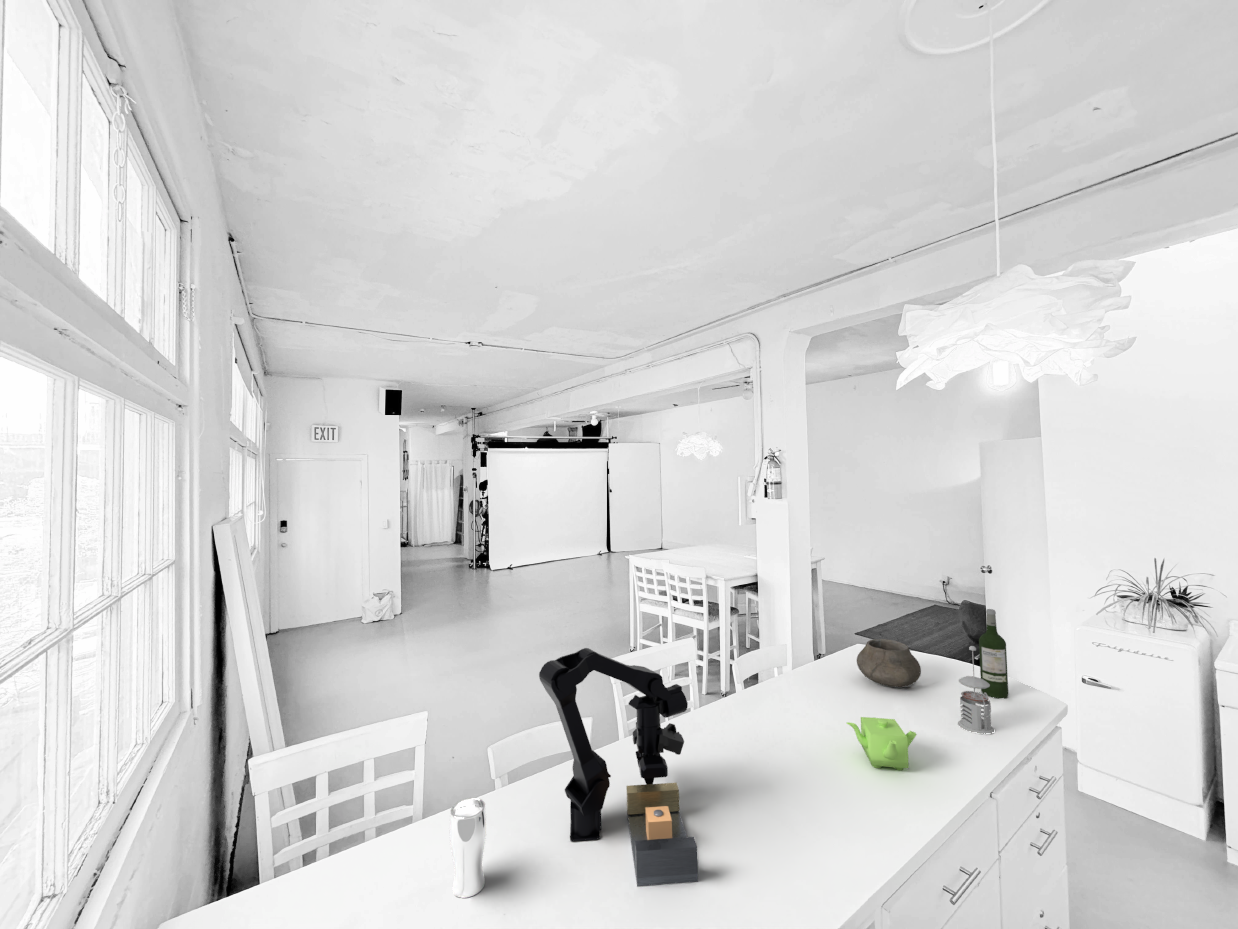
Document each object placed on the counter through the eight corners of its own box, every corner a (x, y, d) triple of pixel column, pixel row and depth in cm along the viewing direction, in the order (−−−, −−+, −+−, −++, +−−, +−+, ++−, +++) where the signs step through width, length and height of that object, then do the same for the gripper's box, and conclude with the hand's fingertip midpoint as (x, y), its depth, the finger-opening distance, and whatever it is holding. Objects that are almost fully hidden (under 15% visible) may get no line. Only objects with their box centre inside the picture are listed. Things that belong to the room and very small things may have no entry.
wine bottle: (986, 697, 182) (982, 611, 183) (977, 689, 190) (974, 606, 191) (1012, 700, 180) (1008, 613, 181) (1003, 691, 188) (999, 607, 189)
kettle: (896, 783, 132) (894, 738, 133) (845, 760, 144) (843, 719, 144) (924, 764, 141) (922, 722, 141) (873, 743, 152) (871, 705, 153)
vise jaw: (628, 814, 119) (627, 793, 119) (626, 806, 122) (626, 785, 122) (679, 811, 120) (678, 790, 120) (677, 803, 123) (676, 782, 123)
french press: (983, 720, 165) (979, 641, 166) (1006, 738, 154) (1002, 653, 155) (951, 719, 166) (947, 641, 167) (971, 737, 155) (968, 652, 156)
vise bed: (637, 886, 100) (636, 851, 100) (627, 814, 122) (626, 785, 122) (698, 881, 101) (697, 847, 101) (677, 810, 123) (676, 782, 123)
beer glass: (490, 871, 105) (489, 796, 105) (482, 899, 98) (481, 818, 98) (455, 873, 105) (455, 797, 105) (445, 901, 98) (444, 819, 98)
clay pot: (922, 679, 200) (920, 640, 200) (920, 699, 182) (918, 656, 182) (861, 669, 211) (859, 633, 212) (853, 687, 193) (851, 647, 194)
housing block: (648, 846, 109) (648, 820, 109) (645, 830, 114) (645, 806, 114) (672, 844, 109) (671, 819, 109) (668, 829, 114) (667, 804, 114)
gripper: (688, 738, 118) (690, 808, 117) (673, 704, 137) (675, 764, 136) (640, 741, 117) (641, 812, 117) (631, 706, 136) (633, 767, 135)
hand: (649, 787), depth 126 cm, fingers closed
